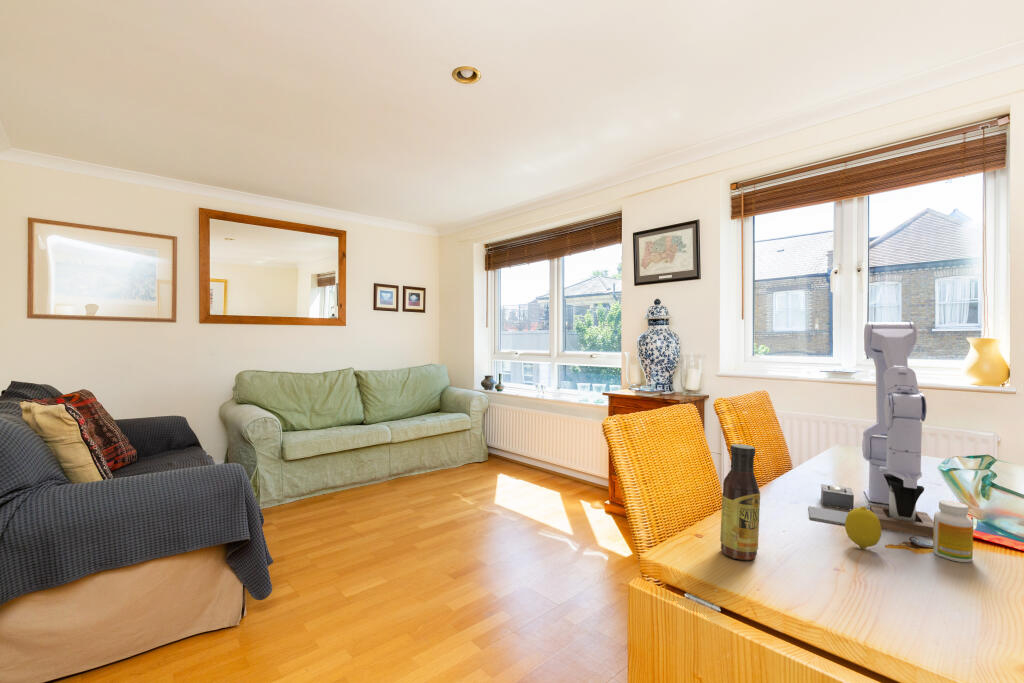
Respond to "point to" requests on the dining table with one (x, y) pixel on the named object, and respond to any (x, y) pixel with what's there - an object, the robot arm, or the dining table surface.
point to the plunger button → (837, 489)
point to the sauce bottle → (740, 506)
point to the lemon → (863, 527)
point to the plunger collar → (837, 497)
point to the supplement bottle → (953, 532)
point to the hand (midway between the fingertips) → (902, 512)
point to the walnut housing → (904, 522)
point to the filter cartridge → (893, 509)
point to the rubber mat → (827, 515)
